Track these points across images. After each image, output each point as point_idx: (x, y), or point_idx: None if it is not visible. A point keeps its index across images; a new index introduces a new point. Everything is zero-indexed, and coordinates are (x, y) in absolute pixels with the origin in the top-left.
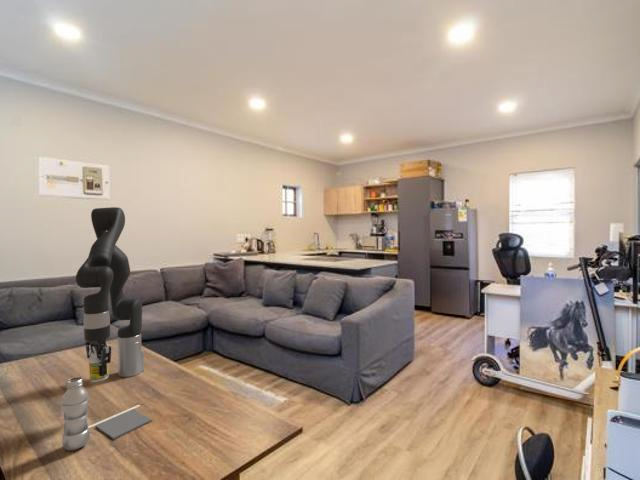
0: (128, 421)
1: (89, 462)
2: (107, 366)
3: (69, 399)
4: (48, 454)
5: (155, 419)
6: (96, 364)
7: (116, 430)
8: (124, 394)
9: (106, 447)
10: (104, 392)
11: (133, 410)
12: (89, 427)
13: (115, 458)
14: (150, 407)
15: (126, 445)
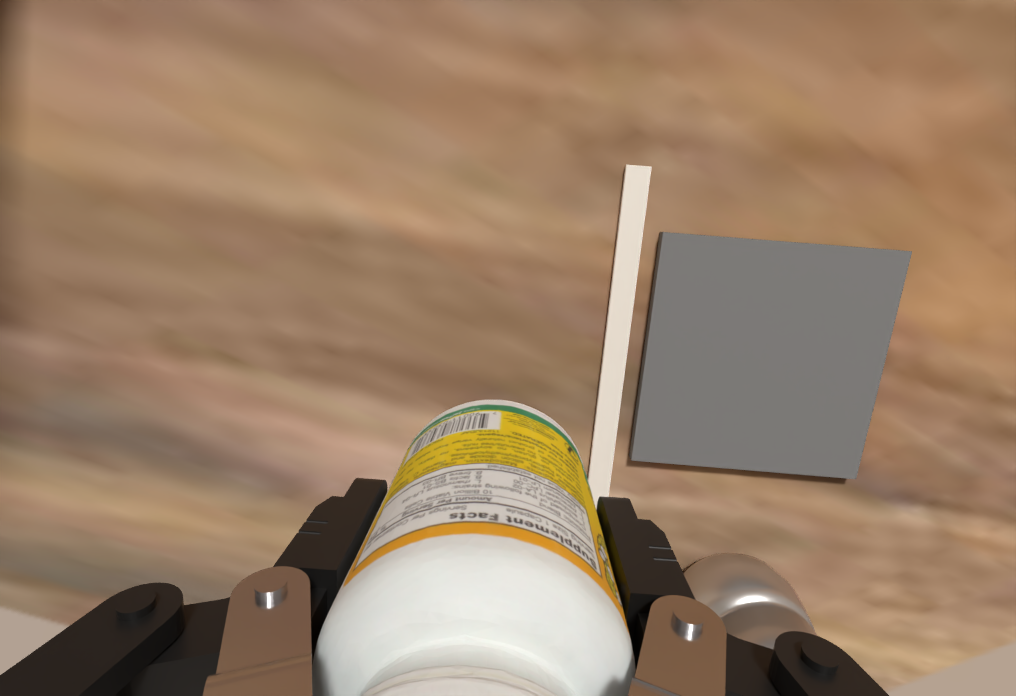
0: (778, 341)
1: (903, 615)
2: (579, 500)
3: None
4: None
5: (905, 224)
6: None
7: (801, 432)
8: (352, 113)
9: (873, 524)
10: (184, 176)
11: (681, 243)
12: (606, 479)
13: (1001, 550)
14: (731, 137)
15: (963, 469)
